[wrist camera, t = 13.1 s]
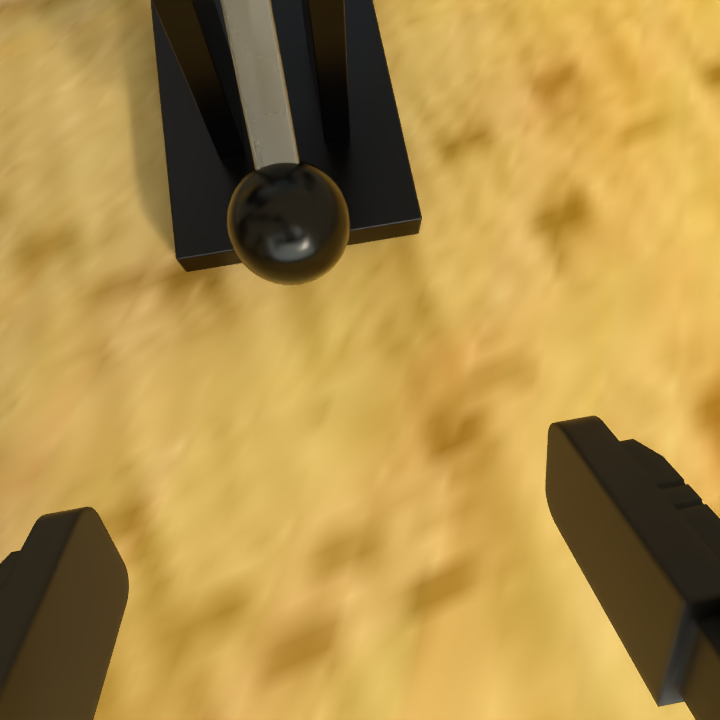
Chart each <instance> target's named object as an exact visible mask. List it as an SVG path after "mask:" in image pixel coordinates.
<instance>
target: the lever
mask: <svg viewBox="0 0 720 720" xmlns="http://www.w3.org/2000/svg"><path fill="white" fill-rule="evenodd" d="M220 2H221V6H222V11H223V16H224V21H225V26H226V31H227V35H228V40H229V45H230V50H231V55H232V60H233V64H234V69H235V74H236V79H237V84H238V89H239V93H240V98H241V103H242V108H243V113H244V117H245V122H246V127H247V132H248V137H249V142H250V146H251V151H252V156H253V161H254V166H255V168H254V169H252V170H251V171H250V172H249V173H247V174H246V175H245V176H244V177H243V178H242V179H241V181H240V182H239V183H238V185H237V186H236V188H235V190H234V192H233V193H232V196H231V198H230V201H229V205H228V209H227V230H228V235H229V239H230V242H231V244H232V247H233V249H234V251H235V253H236V254H237V256H238V257H239V259H240V260H241V261H242V263H243V264H244V265H245V266H246V267H247V268H248V269H249V270H250V271H252V272H253V273H254V274H256V275H257V276H259V277H261V278H262V279H265V280H267V281H269V282H273V283H276V284H282V285H300V284H304V283H308V282H311V281H313V280H316V279H318V278H319V277H321V276H323V275H324V274H326V273H327V272H328V271H330V270H331V269H332V268H333V267H334V266H335V265H336V263H337V262H338V261H339V259H340V258H341V256H342V255H343V253H344V251H345V248H346V246H347V243H348V239H349V234H350V214H349V209H348V205H347V202H346V199H345V197H344V195H343V193H342V191H341V189H340V188H339V186H338V185H337V184H336V182H335V181H334V180H333V179H332V178H331V177H330V176H329V175H328V174H327V173H326V172H324V171H323V170H321V169H320V168H318V167H316V166H314V165H312V164H310V163H308V162H305V161H301V160H299V154H298V148H297V143H296V137H295V131H294V126H293V120H292V115H291V109H290V103H289V98H288V92H287V86H286V81H285V75H284V70H283V64H282V58H281V53H280V47H279V42H278V36H277V30H276V25H275V19H274V13H273V8H272V2H271V0H220Z"/></svg>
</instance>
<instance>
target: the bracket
mask: <svg viewBox="0 0 720 720" xmlns="http://www.w3.org/2000/svg"><path fill="white" fill-rule="evenodd" d="M271 2H272V8H273V13H274V19H275V25H276V30H277V36H278V42H279V47H280V53H281V58H282V64H283V70H284V75H285V81H286V86H287V92H288V98H289V103H290V109H291V115H292V120H293V126H294V131H295V137H296V143H297V148H298V154H299V160H301V161H305V162H308V163H310V164H312V165H314V166H316V167H318V168H320V169H321V170H323V171H324V172H326V173H327V174H328V175H329V176H330V177H331V178H332V179H333V180H334V181H335V182H336V184H337V185H338V186H339V188H340V189H341V191H342V193H343V195H344V197H345V199H346V202H347V205H348V209H349V214H350V234H349V239H348V243H347V245H352V244H358V243H364V242H370V241H376V240H382V239H388V238H394V237H400V236H406V235H412V234H417V233H419V229H420V224H421V219H422V216H421V212H420V207H419V203H418V199H417V194H416V190H415V185H414V181H413V176H412V172H411V168H410V163H409V159H408V154H407V150H406V146H405V141H404V137H403V132H402V128H401V124H400V119H399V115H398V110H397V106H396V101H395V97H394V93H393V88H392V84H391V79H390V75H389V71H388V66H387V62H386V57H385V53H384V48H383V44H382V40H381V35H380V31H379V26H378V22H377V18H376V13H375V9H374V4H373V0H271ZM151 10H152V20H153V30H154V40H155V51H156V61H157V71H158V81H159V91H160V101H161V111H162V121H163V131H164V142H165V152H166V162H167V172H168V182H169V192H170V202H171V212H172V222H173V233H174V243H175V253H176V259H177V260H178V262H179V263H180V264H181V266H182V267H183V268H184V269H185V271H187V272H189V271H195V270H201V269H207V268H213V267H219V266H225V265H231V264H237V263H242V261H241V260H240V259H239V257H238V256H237V254H236V253H235V251H234V249H233V247H232V244H231V242H230V239H229V235H228V230H227V209H228V205H229V201H230V198H231V196H232V193H233V192H234V190H235V188H236V186H237V185H238V183H239V182H240V181H241V179H242V178H243V177H244V176H245V175H246V174H247V173H249V172H250V171H251V170H252V169H254V168H255V166H254V161H253V156H252V151H251V146H250V142H249V137H248V132H247V127H246V122H245V117H244V113H243V108H242V103H241V98H240V93H239V89H238V84H237V79H236V74H235V69H234V64H233V60H232V55H231V50H230V45H229V40H228V35H227V31H226V26H225V21H224V16H223V11H222V6H221V2H220V0H151Z"/></svg>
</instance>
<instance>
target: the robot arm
mask: <svg viewBox="0 0 720 720" xmlns="http://www.w3.org/2000/svg"><path fill="white" fill-rule="evenodd" d="M546 497H547V502H548V506H549V509H550V512H551V515H552V517H553V520H554V522H555V524H556V526H557V527H558V529H559V531H560V533H561V534H562V536H563V538H564V540H565V542H566V543H567V545H568V547H569V549H570V550H571V552H572V554H573V556H574V558H575V559H576V561H577V563H578V565H579V566H580V568H581V570H582V572H583V574H584V575H585V577H586V579H587V581H588V582H589V584H590V586H591V588H592V590H593V591H594V593H595V595H596V597H597V599H598V600H599V602H600V604H601V606H602V607H603V609H604V611H605V613H606V615H607V616H608V618H609V620H610V622H611V623H612V625H613V627H614V629H615V631H616V632H617V634H618V636H619V638H620V639H621V641H622V643H623V645H624V647H625V648H626V650H627V652H628V654H629V656H630V657H631V659H632V661H633V663H634V664H635V666H636V668H637V670H638V672H639V673H640V675H641V677H642V679H643V680H644V682H645V684H646V686H647V688H648V689H649V691H650V693H651V695H652V696H653V698H654V700H655V702H656V704H657V705H658V707H659V706H664V705H669V704H674V703H679V702H684V701H685V703H686V704H687V706H688V708H689V709H690V711H691V713H692V714H693V716H694V718H695V719H696V720H720V519H719V517H718V516H717V515H716V514H715V513H714V512H713V511H712V510H711V509H710V508H709V507H708V505H707V504H705V505H704V504H703V503H702V499H701V498H700V497H699V496H698V494H697V493H696V492H695V491H694V490H693V489H692V488H691V487H690V486H689V485H688V484H687V485H686V484H685V483H684V479H683V478H682V477H681V476H680V475H679V474H678V473H677V471H676V470H675V469H674V468H673V467H672V466H671V465H670V464H669V463H668V462H667V461H666V459H665V458H664V457H663V456H661V455H659V454H658V453H656V452H654V451H653V450H651V449H649V448H648V447H646V446H644V445H642V444H641V443H639V442H637V441H636V440H634V439H630V440H625V441H619V440H618V439H617V438H616V437H615V436H614V434H613V433H612V432H611V431H610V430H609V428H608V427H607V426H606V425H605V424H604V422H603V421H602V420H601V419H600V418H598V417H597V416H588V417H583V418H577V419H572V420H567V421H561V422H556V423H552V424H551V425H550V427H549V430H548V445H547V465H546ZM128 592H129V581H128V573H127V569H126V566H125V564H124V562H123V560H122V558H121V556H120V554H119V552H118V550H117V548H116V547H115V545H114V543H113V541H112V539H111V537H110V535H109V533H108V532H107V530H106V528H105V526H104V524H103V522H102V520H101V518H100V516H99V515H98V513H97V512H96V511H95V509H93V508H91V507H83V508H78V509H73V510H67V511H62V512H56V513H51V514H45V515H42V516H41V517H40V518H39V519H38V520H37V521H36V523H35V524H34V526H33V528H32V530H31V532H30V534H29V536H28V537H27V539H26V541H25V543H24V545H23V547H22V549H21V551H16V552H11V553H10V554H9V555H8V556H7V557H6V559H5V560H4V561H3V562H2V563H1V564H0V720H93V719H94V715H95V712H96V708H97V705H98V701H99V698H100V694H101V691H102V687H103V684H104V680H105V677H106V673H107V670H108V666H109V663H110V659H111V656H112V652H113V649H114V645H115V642H116V638H117V635H118V631H119V628H120V624H121V621H122V617H123V614H124V611H125V607H126V604H127V599H128Z"/></svg>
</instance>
